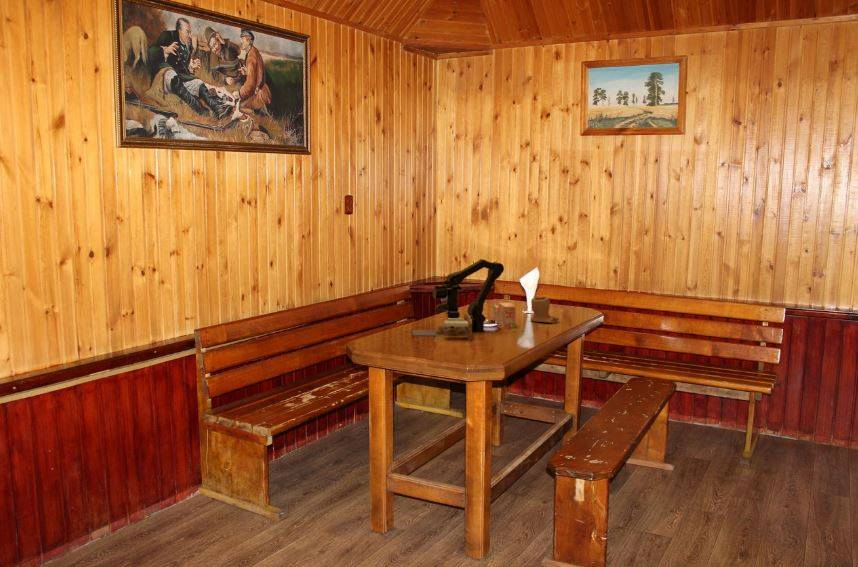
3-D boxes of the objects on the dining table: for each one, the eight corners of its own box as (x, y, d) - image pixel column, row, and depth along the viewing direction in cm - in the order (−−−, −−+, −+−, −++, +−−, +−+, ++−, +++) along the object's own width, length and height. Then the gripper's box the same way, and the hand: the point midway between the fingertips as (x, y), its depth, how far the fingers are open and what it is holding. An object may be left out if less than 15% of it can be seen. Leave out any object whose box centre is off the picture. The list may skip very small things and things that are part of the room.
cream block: (455, 331, 390) (455, 320, 390) (456, 333, 386) (456, 321, 385) (447, 331, 390) (447, 320, 389) (447, 332, 386) (448, 321, 385)
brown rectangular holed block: (466, 330, 395) (467, 314, 393) (471, 341, 370) (472, 323, 369) (437, 330, 394) (438, 314, 393) (440, 340, 369) (441, 323, 368)
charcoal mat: (435, 332, 389) (435, 330, 389) (436, 337, 377) (436, 335, 377) (412, 332, 388) (412, 330, 388) (413, 337, 376) (413, 334, 376)
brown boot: (526, 322, 421) (527, 296, 419) (534, 319, 432) (535, 294, 429) (551, 325, 414) (552, 299, 412) (559, 322, 424) (560, 296, 422)
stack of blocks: (492, 321, 424) (493, 300, 423) (503, 320, 426) (503, 299, 424) (504, 328, 404) (505, 306, 402) (515, 328, 405) (516, 306, 403)
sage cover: (467, 323, 376) (467, 318, 376) (468, 326, 368) (468, 321, 368) (444, 323, 375) (444, 318, 375) (445, 326, 368) (445, 320, 368)
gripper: (436, 295, 394) (435, 323, 397) (438, 300, 376) (437, 330, 378) (456, 295, 395) (456, 324, 397) (460, 301, 377) (459, 331, 379)
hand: (451, 327), depth 388 cm, fingers closed on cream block, 4 cm apart
